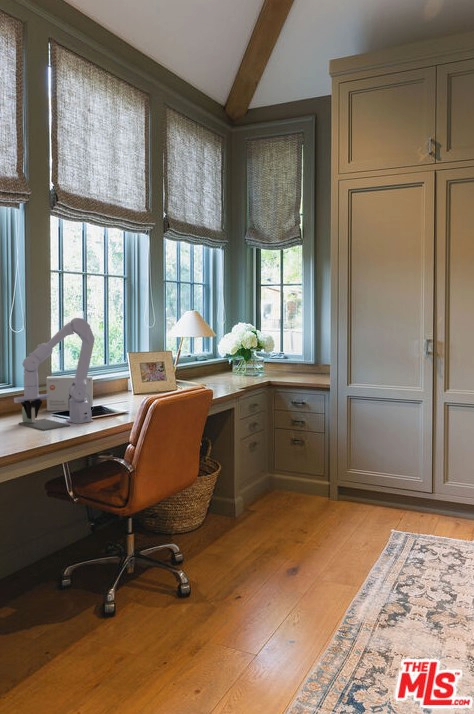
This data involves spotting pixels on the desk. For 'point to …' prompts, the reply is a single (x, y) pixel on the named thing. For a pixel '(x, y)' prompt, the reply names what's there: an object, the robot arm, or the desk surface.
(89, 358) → the robot arm
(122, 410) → the desk surface
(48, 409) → the skincare box
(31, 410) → the tile
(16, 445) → the desk surface
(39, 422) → the mat
